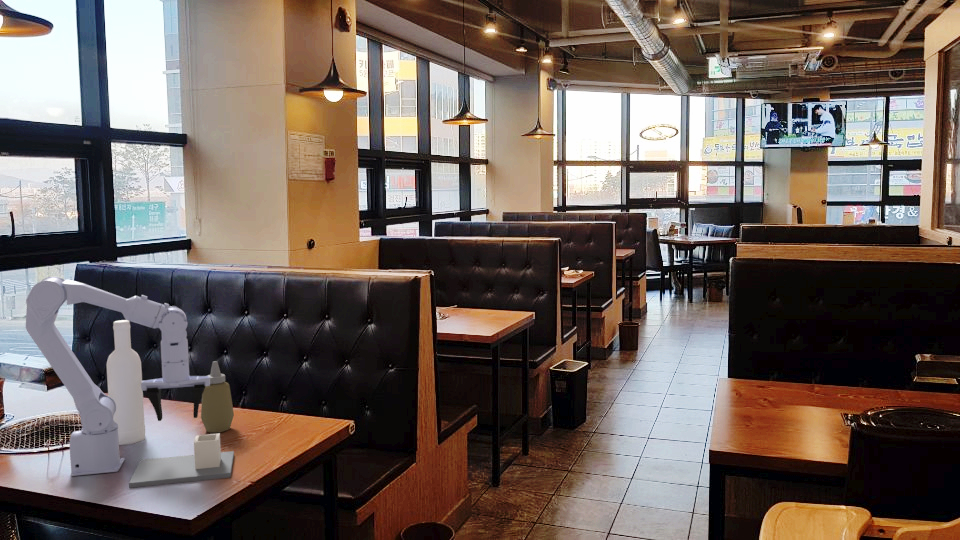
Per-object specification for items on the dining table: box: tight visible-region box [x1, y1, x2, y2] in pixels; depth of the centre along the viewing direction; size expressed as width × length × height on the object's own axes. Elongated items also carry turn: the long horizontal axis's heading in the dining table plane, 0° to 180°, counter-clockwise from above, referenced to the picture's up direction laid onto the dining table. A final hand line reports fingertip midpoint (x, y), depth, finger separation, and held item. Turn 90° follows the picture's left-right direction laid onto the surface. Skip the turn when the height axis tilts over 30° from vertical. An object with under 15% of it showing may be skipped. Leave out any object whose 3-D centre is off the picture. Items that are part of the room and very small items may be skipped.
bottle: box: [106, 319, 146, 446], centre depth 181 cm, size 8×8×30 cm
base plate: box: [128, 450, 235, 489], centre depth 162 cm, size 20×14×4 cm
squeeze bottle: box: [200, 360, 235, 434], centre depth 189 cm, size 8×8×18 cm
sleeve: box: [193, 432, 222, 469], centre depth 163 cm, size 5×5×6 cm
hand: (178, 418), depth 169 cm, fingers open, 7 cm apart
